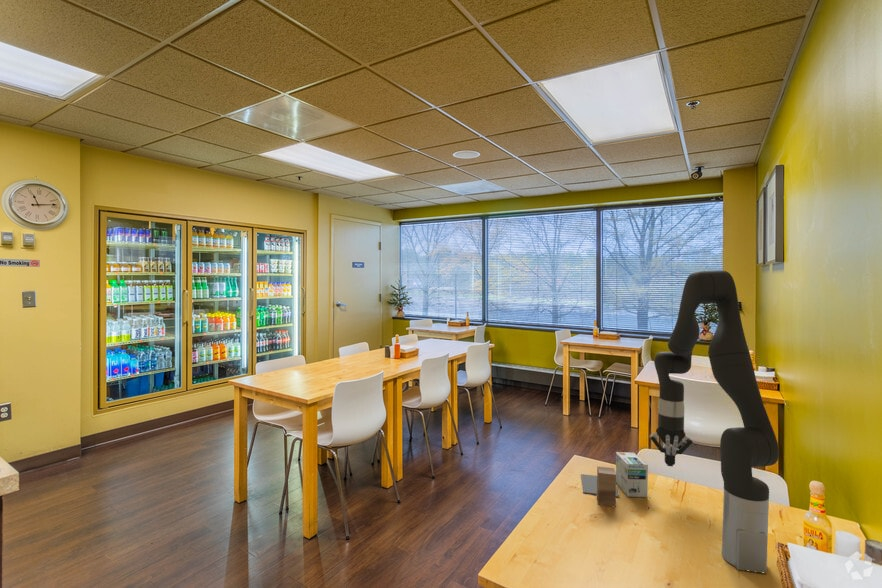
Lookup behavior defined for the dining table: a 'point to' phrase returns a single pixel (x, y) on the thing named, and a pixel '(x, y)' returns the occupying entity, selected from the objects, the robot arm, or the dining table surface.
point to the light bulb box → (631, 474)
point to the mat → (591, 484)
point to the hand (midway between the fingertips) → (669, 465)
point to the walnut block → (606, 486)
